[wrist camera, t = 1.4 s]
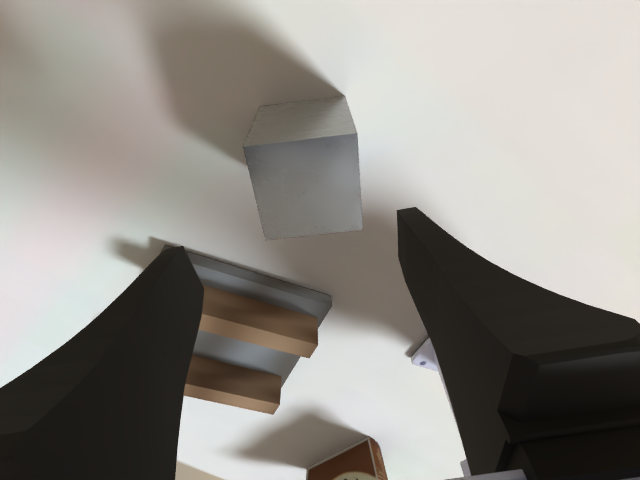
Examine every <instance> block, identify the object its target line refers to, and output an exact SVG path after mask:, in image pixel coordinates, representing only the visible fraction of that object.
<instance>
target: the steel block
mask: <svg viewBox="0 0 640 480" xmlns="http://www.w3.org/2000/svg"><path fill="white" fill-rule="evenodd" d="M243 148H244V152H245V157H246V161H247V165H248V169H249V173H250V177H251V182H252V186H253V190H254V194H255V198H256V203H257V207H258V211H259V215H260V219H261V224H262V228H263V232H264V236H265V240H273V239H282V238H292V237H301V236H310V235H320V234H329V233H338V232H347V231H357V230H363V226H362V208H361V191H360V173H359V155H358V138H357V131H356V128H355V125H354V122H353V119H352V116H351V113H350V110H349V107H348V104H347V100H346V97H345V96H341V97H333V98H325V99H317V100H309V101H301V102H292V103H284V104H276V105H268V106H260V108H259V110H258V112H257V115H256V117H255V120H254V122H253V124H252V127H251V129H250V132H249V134H248V136H247V139H246V141H245V143H244V146H243Z"/></svg>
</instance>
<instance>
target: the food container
mask: <svg viewBox="0 0 640 480" xmlns="http://www.w3.org/2000/svg"><path fill="white" fill-rule="evenodd" d="M306 480H388V478H387V474H386V470H385V466H384V462H383V458H382V454H381V450H380V447H379V445H378V443H377V442H376V441H375V440H374V439H372V438H371V437H369V436H368V437H367V438H365V439H363V440H361V441H359V442H357V443H355V444H353V445H351V446H349V447H347V448H345V449H343V450H341V451H339V452H337V453H335V454H333V455H331V456H329V457H327V458H326V459H324V460H322V461H320V462H318V463H316V464H314V465H312V466H310V467H308V468H307V473H306Z"/></svg>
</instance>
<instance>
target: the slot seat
mask: <svg viewBox="0 0 640 480" xmlns="http://www.w3.org/2000/svg"><path fill="white" fill-rule="evenodd" d="M169 248H174V247H171V246H167V245H165V246H164V248H163V249H162V251H161V253H162V252H163V251H164V250H165V249H169ZM161 253H160V254H161ZM186 253H187V255H188V257H189V259H190V261H191V263H192V265H193V267H194V269H195V271H196V273H197V275H198V277H199V279H200V281H201V283H202V285H203V287H204V300H203V310H202V317H201V321H200V326H199V330H198V334H197V338H196V342H195V346H194V350H193V354H192V358H191V362H190V366H189V370H188V374H187V378H186V383H185V389H184V396H188V397H193V398H198V399H202V400H207V401H212V402H217V403H221V404H226V405H231V406H235V407H240V408H245V409H249V410H254V411H259V412H263V413H268V414H274V413H275V411H276V410H277V408H278V406H279V405H280V394H281V387H282V386H283V384H284V383H285V381H286V379H287V378H288V376H289V374H290V373H291V371H292V370H293V368H294V366H295V365H296V363H297V362H298V360H299V358H300V357H301V356H302V357H306V358H310V357H311V355H312V353H313V352H314V350H315V349H316V347H317V346H318V328H319V326H320V324H321V323H322V321H323V320H324V318H325V316H326V315H327V313H328V311H329V310H330V308H331V307H332V299H331V296H329V295H326V294H323V293H320V292H316V291H313V290H310V289H307V288H303V287H300V286H297V285H294V284H290V283H287V282H284V281H281V280H278V279H274V278H271V277H268V276H265V275H261V274H258V273H255V272H252V271H248V270H245V269H242V268H239V267H235V266H232V265H229V264H226V263H222V262H219V261H216V260H213V259H209V258H206V257H203V256H200V255H196V254H193V253H190V252H187V251H186Z"/></svg>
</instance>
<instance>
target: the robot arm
mask: <svg viewBox="0 0 640 480" xmlns="http://www.w3.org/2000/svg"><path fill="white" fill-rule="evenodd" d="M397 226H398V257H399V261H400V264H401V268H402V272H403V275H404V278H405V282H406V284H407V287H408V289H409V291H410V294H411V296H412V298H413V301H414V303H415V305H416V307H417V310H418V312H419V314H420V317H421V319H422V321H423V323H424V326H425V328H426V330H427V333H428V335H429V338H428V339H427V340H426V341H425V342H424V344H423V345H422V346H421V347H420V348H419V349H418V350H417V352H416V353H415V354H414V355H413V356H412V357H411V361H412V364H414V365H417V366H420V367H424V368H428V369H431V370H435V371H439V374H440V377H441V380H442V383H443V386H444V389H445V392H446V395H447V398H448V401H449V404H450V407H451V410H452V413H453V416H454V419H455V422H456V425H457V428H458V430H459V433H460V436H461V440H462V444H463V447H464V451H465V455H466V458H467V459H466V460H464V461H461V462H460V464H461V468H462V471H463V474H464V477H461V478H454V479H446V480H640V324H639V323H638V322H637V321H636V320H635V319H633V318H629V317H626V316H623V315H619V314H616V313H613V312H610V311H606V310H603V309H600V308H596V307H593V306H590V305H587V304H584V303H581V302H578V301H576V300H573V299H570V298H567V297H565V296H562V295H559V294H557V293H554V292H552V291H549V290H547V289H544V288H542V287H540V286H538V285H535V284H533V283H531V282H529V281H526V280H524V279H522V278H520V277H518V276H516V275H514V274H512V273H510V272H508V271H506V270H504V269H502V268H501V267H499V266H497V265H495V264H493V263H491V262H490V261H488V260H486V259H485V258H483V257H481V256H480V255H478V254H477V253H475V252H474V251H472V250H471V249H469V248H467V247H466V246H465V245H463V244H462V243H460V242H459V241H458V240H456V239H455V238H454V237H452V236H451V235H450V234H448V233H447V232H446V231H444V230H443V229H442V228H441V227H439V226H438V225H437V224H436V223H435V222H433V221H432V220H431V219H430V218H429V217H427V216H426V215H425V214H424V213H423V212H421V211H420V210H419V209H418V208H416V207H413V208H407V209H401V210H397ZM203 300H204V287H203V285H202V283H201V281H200V279H199V277H198V275H197V273H196V271H195V269H194V267H193V265H192V263H191V261H190V259H189V257H188V255H187V253H186V251H185V249H184V247H183V246H180V247H174V248H169V249H165V250H164V251H163V252H162V253H161V254H160V255H159V256H158V257H157V258H156V259H155V260H154V261H153V262H152V263H151V264H150V265H149V266H148V267H147V268H146V269H145V270H144V271H143V272H142V273H141V274H140V275H139V276H138V277H137V278H136V279H135V280H134V281H133V282H132V283H131V284H130V286H129V287H128V288H127V289H126V290H125V291H124V292H123V293H122V294H121V295H120V296H119V297H117V298H116V299H115V300H114V301H113V302H112V303H111V304H110V305H109V306H108V307H107V308H106V309H105V310H104V311H103V312H102V313H101V314H100V315H99V316H98V317H96V318H95V319H94V320H93V321H92V322H91V323H90V324H88V325H87V326H86V327H85V328H84V329H82V330H81V331H80V332H79V333H78V334H76V335H75V336H74V337H73V338H71V339H70V340H69V341H68V342H66V343H65V344H64V345H62V346H61V347H60V348H58V349H57V350H56V351H54V352H53V353H51V354H50V355H49V356H47V357H46V358H45V359H43V360H42V361H40V362H39V363H38V364H36V365H35V366H33V367H32V368H31V369H29V370H28V371H26V372H25V373H23V374H22V375H20V376H18V377H17V378H15V379H14V380H12V381H11V382H9V383H8V384H6V385H4V386H3V387H1V388H0V480H175V472H176V459H177V446H178V437H179V428H180V418H181V411H182V403H183V396H184V389H185V383H186V378H187V374H188V370H189V366H190V362H191V358H192V354H193V350H194V346H195V342H196V338H197V334H198V330H199V326H200V321H201V317H202V310H203Z"/></svg>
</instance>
